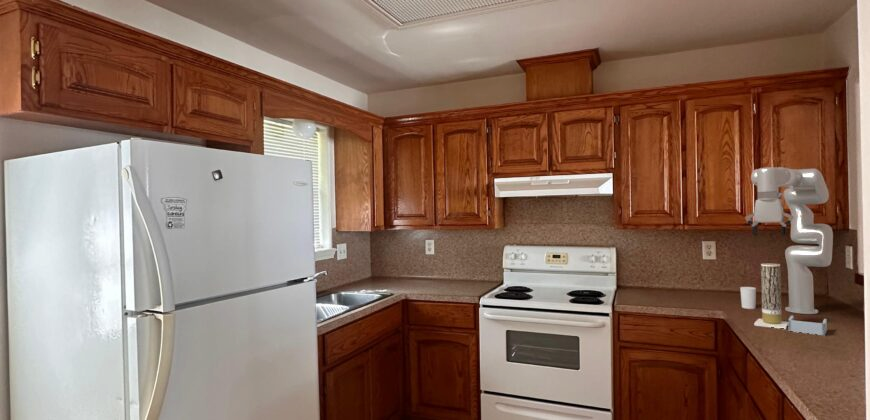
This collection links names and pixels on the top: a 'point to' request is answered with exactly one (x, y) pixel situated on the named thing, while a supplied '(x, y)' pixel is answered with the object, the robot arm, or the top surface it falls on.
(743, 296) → the drinking glass
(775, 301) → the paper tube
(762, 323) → the tile
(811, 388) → the top surface
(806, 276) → the robot arm
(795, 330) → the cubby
